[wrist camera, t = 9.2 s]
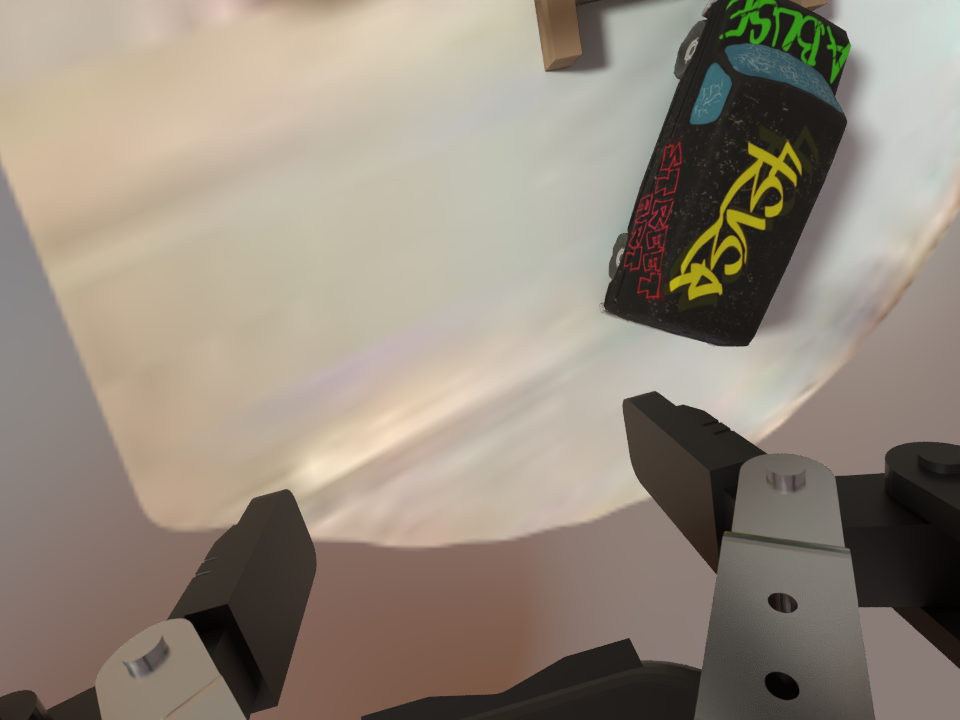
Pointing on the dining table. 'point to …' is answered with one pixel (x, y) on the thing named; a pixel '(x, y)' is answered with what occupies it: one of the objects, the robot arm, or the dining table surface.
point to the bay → (563, 31)
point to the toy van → (731, 171)
